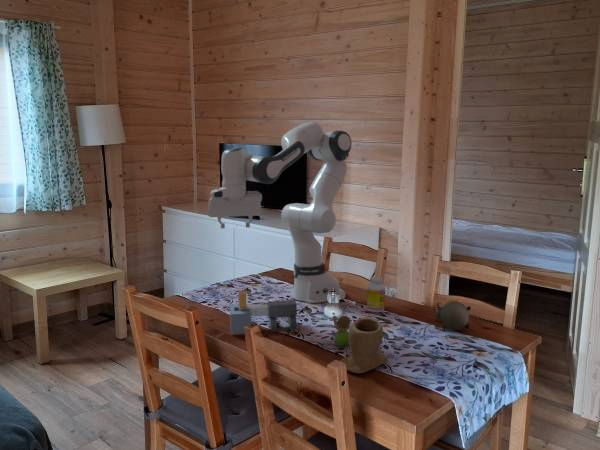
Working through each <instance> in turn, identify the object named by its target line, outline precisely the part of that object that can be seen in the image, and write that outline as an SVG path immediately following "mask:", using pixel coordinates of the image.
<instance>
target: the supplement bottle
mask: <svg viewBox="0 0 600 450" xmlns="http://www.w3.org/2000/svg"><path fill="white" fill-rule="evenodd" d="M383 280H384V279H383V277H381V276H371V277H370V279H369V281H370V283H369V284H368V285H367V296H366V297H367V299H366V301H367V302H366V303H367V304H366V305H367V306H366V308H367V311H369V312H372V313H382V312H384V310H385V305H386V304H385V302H386V301H385V298H386V297H385V294H386V293H385V292H386V287H385V285H384V283H383Z"/></svg>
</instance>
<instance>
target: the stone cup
mask: <svg viewBox="0 0 600 450" xmlns="http://www.w3.org/2000/svg"><path fill="white" fill-rule="evenodd" d="M349 326H350V327H349V329H348V332H349V344H348V345H349V348H350V353H351V354H349V355H348V356H345V357H344V358H342V359H341V360H340V361H342V362H344V363H345V364H346V366H347V370H346V371H348V372H350V373H356V374H362V373H366V372H369V371H371V370H373V369H376V368H377V367H379V366H381V365H384V364H386V363H387V362H388V361H389V359H388V357H387V356H386V355H385V353H383V351H382V349H381V348H380V346H381V344H382V341H383V338H384V329H383V326H382V323H381V322H380V321H378V320H377V319H375V318H372V317H371V318H370V317H361V318H358V319H356V320H355V321H353V322H352V323H350V325H349Z"/></svg>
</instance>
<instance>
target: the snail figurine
mask: <svg viewBox="0 0 600 450" xmlns="http://www.w3.org/2000/svg"><path fill="white" fill-rule="evenodd" d="M332 321H333V325H334V328H335V330H337V332H336V333H335V334H334V342H335V344H336V345H337V346H339V347H347V346H348V345H349V329H350V326H351V319H350V317H349V316H347V315H341V316H340V317H337V315H336V313H335V312H332Z"/></svg>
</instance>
